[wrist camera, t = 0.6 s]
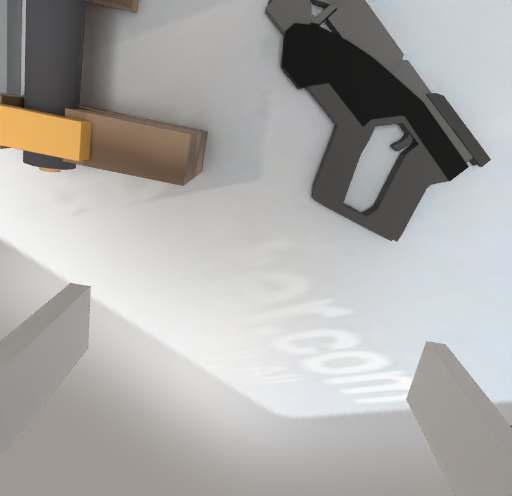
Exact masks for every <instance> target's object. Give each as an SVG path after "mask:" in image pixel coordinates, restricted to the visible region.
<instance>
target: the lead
mask: <svg viewBox="0 0 512 496" xmlns="http://www.w3.org/2000/svg"><path fill="white" fill-rule="evenodd" d="M85 4H86V0H26V41H25V93H24V108H26V109H30V110H35V111H40V112H45V113H50V114H54V115H59V116H64V117H65V108H67V109H79V105H80V88H81V71H82V54H83V38H84V21H85ZM23 162H24V163H26V164H29V165H32V166H37V167H39V169H40V170H43V171H48V172H60V169H62V170H68V169H75V168H76V164H74V163H69V162H64V161H63V158H60V157H55V156H50V155H45V154H40V153H36V152H31V151H26V150H23Z"/></svg>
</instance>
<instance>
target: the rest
mask: <svg viewBox="0 0 512 496" xmlns="http://www.w3.org/2000/svg"><path fill="white" fill-rule="evenodd" d="M86 2H90V3H94V4H99V5H103V6H108V7H112V8H117V9H122V10H126V11H131V12H135V13H137V10H138V0H86Z"/></svg>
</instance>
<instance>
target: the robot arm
mask: <svg viewBox="0 0 512 496" xmlns="http://www.w3.org/2000/svg"><path fill="white" fill-rule="evenodd" d="M90 289H91V286H85V285H79V284H73V283H70V284H69V285H68V286H66V287H65V288H64V289H63V290H62V291H61V292H59V293H58V294H57V295H56V296H54V297H53V298H52V299H51V300H50V301H48V302H47V303H46V304H45V305H44V306H42V307H41V308H40V309H39V310H38V311H36V312H35V313H34V314H33V315H31V316H30V317H29V318H28V319H27V320H25V321H24V322H23V323H22V324H21V325H19V326H18V327H17V328H16V329H15V330H13V331H12V332H11V333H10V334H9V335H7V336H6V337H5V338H4V339H2V340H1V341H0V460H1V459H2V458H3V456H4V455H5V454H6V453H7V451H8V450H9V449H10V447H11V446H12V445H13V444H14V442H15V441H16V440H17V438H18V437H19V436H20V435H21V433H22V432H23V431H24V430H25V428H26V427H27V426H28V425H29V423H30V422H31V421H32V419H33V418H34V417H35V416H36V414H37V413H38V412H39V410H40V409H41V408H42V406H43V405H44V404H45V403H46V401H47V400H48V399H49V398H50V396H51V395H52V394H53V393H54V391H55V390H56V389H57V388H58V386H59V385H60V384H61V382H62V381H63V380H64V378H65V377H66V376H67V375H68V374H69V372H70V371H71V370H72V368H73V367H74V366H75V365H76V363H77V362H78V361H79V359H80V358H81V357H82V356H83V354H84V353H85V352H86V351H87V349H88V337H89V313H90V312H89V311H90ZM406 400H407V402H408V404H409V406H410V408H411V410H412V412H413V414H414V416H415V417H416V419H417V421H418V424H419V426H420V427H421V429H422V432H423V433H424V436H425V437H426V440H427V442H428V444H429V445H430V447H431V449H432V452H433V454H434V455H435V458H436V460H437V462H438V463H439V466H440V467H441V469H442V472H443V473H444V476H445V477H446V479H447V482H448V484H449V486H450V487H451V490H452V491H453V493H454V495H455V496H512V426H511V425H509V423H508V422H507V421H506V420H505V419H504V418H503V416H502V415H501V413H500V412H499V411H498V410H497V408H496V407H495V406H494V405H493V403H492V402H491V401H490V400H489V398H488V397H487V396H486V395H485V393H484V392H483V391H482V390H481V388H480V387H479V386H478V385H477V383H476V382H475V381H474V380H473V378H472V377H471V376H470V375H469V373H468V372H467V371H466V370H465V368H464V367H463V366H462V365H461V363H460V362H459V361H458V360H457V358H456V357H455V356H454V355H453V353H452V352H451V351H450V350H449V348H448V347H447V346H446V344H440V343H434V342H428V341H426V344H425V347H424V349H423V352H422V355H421V358H420V361H419V364H418V367H417V370H416V373H415V376H414V378H413V381H412V384H411V387H410V390H409V393H408V396H407V399H406Z"/></svg>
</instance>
